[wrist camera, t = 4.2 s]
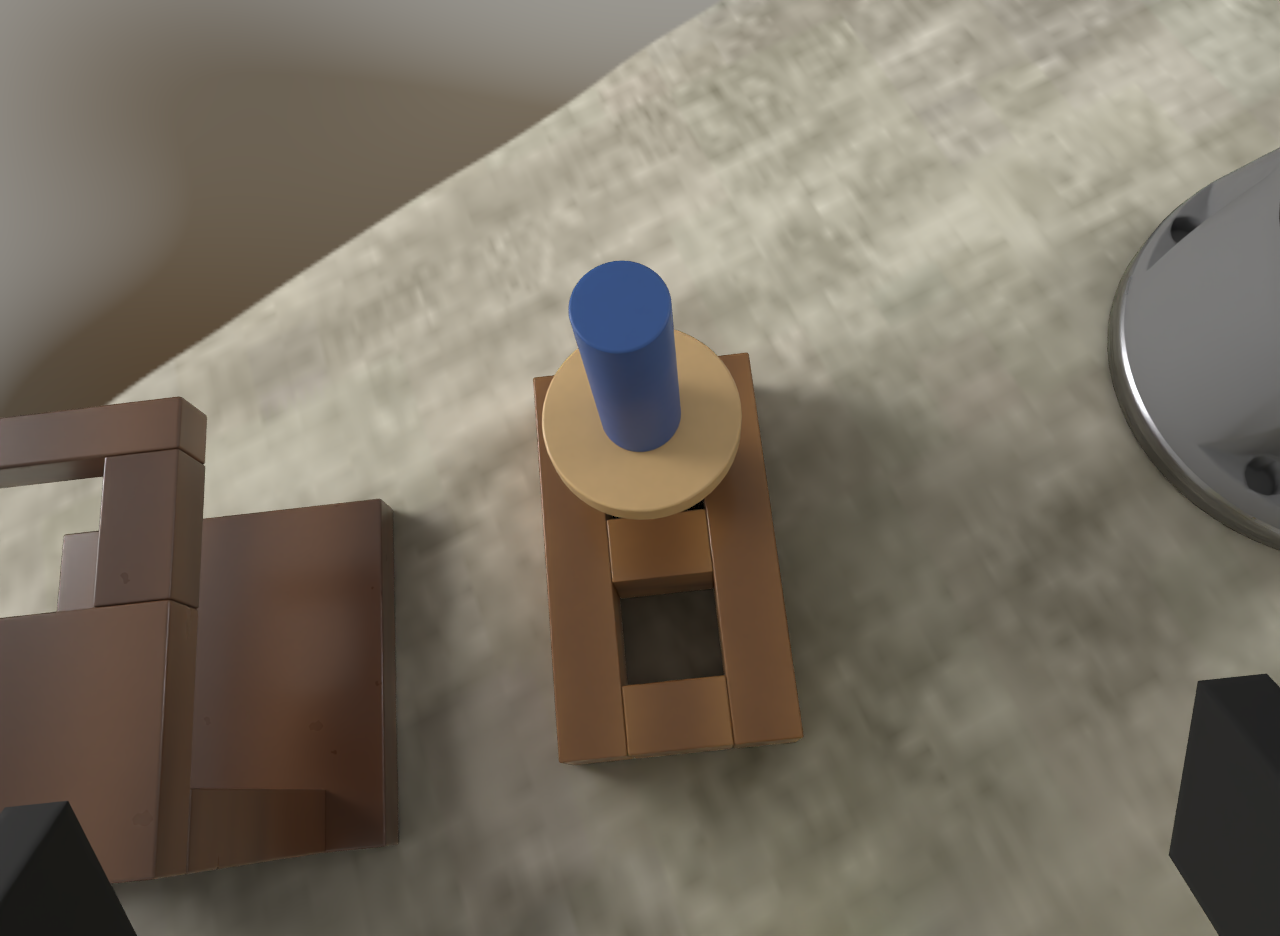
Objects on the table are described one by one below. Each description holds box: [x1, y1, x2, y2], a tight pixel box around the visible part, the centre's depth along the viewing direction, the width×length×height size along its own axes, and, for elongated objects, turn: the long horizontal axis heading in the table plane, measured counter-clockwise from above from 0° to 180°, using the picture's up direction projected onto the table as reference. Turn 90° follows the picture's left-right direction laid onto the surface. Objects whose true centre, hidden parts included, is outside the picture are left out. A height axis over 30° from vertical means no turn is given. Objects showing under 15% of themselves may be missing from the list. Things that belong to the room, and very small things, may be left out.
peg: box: [542, 261, 742, 520], centre depth 30 cm, size 6×6×15 cm
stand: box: [0, 397, 399, 884], centre depth 30 cm, size 12×12×12 cm
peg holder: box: [533, 353, 804, 765], centre depth 35 cm, size 8×13×3 cm, turn 5°
